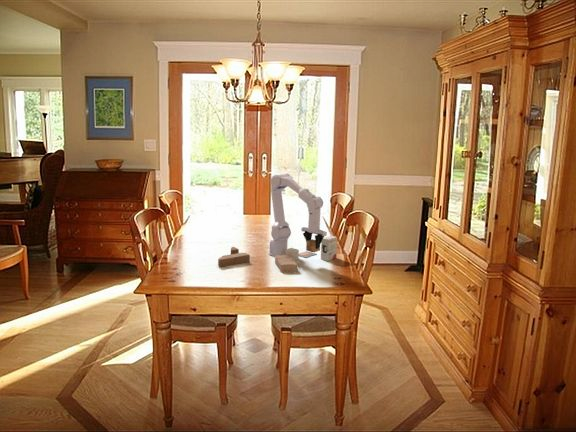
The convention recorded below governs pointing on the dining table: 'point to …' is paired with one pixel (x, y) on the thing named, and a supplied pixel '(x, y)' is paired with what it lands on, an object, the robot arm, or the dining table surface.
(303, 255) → the card
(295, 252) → the cream cube
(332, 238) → the ink box
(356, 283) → the dining table surface
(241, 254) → the wooden block set
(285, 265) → the brick
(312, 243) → the walnut block
